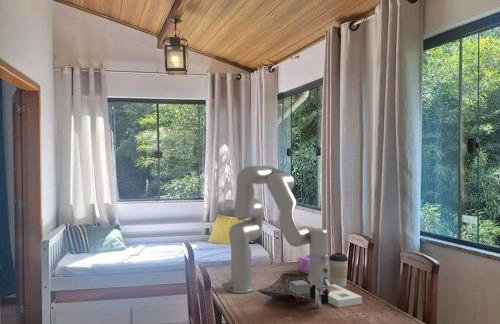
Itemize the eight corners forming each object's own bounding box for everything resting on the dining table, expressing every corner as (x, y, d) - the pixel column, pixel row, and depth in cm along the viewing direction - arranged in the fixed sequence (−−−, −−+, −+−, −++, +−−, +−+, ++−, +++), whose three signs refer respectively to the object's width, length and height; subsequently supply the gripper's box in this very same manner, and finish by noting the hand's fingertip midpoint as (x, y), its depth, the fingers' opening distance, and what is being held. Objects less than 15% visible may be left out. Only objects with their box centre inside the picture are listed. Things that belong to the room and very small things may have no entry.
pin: (317, 308, 181) (317, 289, 181) (314, 306, 184) (314, 287, 183) (323, 307, 182) (323, 288, 182) (319, 305, 185) (319, 286, 185)
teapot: (305, 278, 225) (305, 259, 225) (289, 273, 236) (289, 255, 236) (331, 273, 235) (331, 255, 235) (314, 268, 246) (314, 250, 246)
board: (338, 307, 182) (338, 300, 182) (312, 294, 200) (312, 287, 200) (362, 303, 187) (362, 296, 187) (334, 290, 205) (334, 283, 205)
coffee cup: (348, 288, 209) (348, 256, 209) (329, 287, 211) (328, 255, 211) (348, 282, 218) (347, 252, 218) (329, 281, 220) (329, 251, 219)
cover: (296, 299, 193) (296, 285, 193) (288, 294, 199) (288, 281, 199) (310, 297, 196) (310, 283, 196) (302, 292, 202) (302, 279, 202)
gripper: (338, 262, 176) (338, 305, 176) (315, 253, 192) (315, 293, 192) (322, 264, 173) (322, 308, 173) (300, 255, 189) (300, 295, 189)
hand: (318, 300), depth 183 cm, fingers open, 7 cm apart
